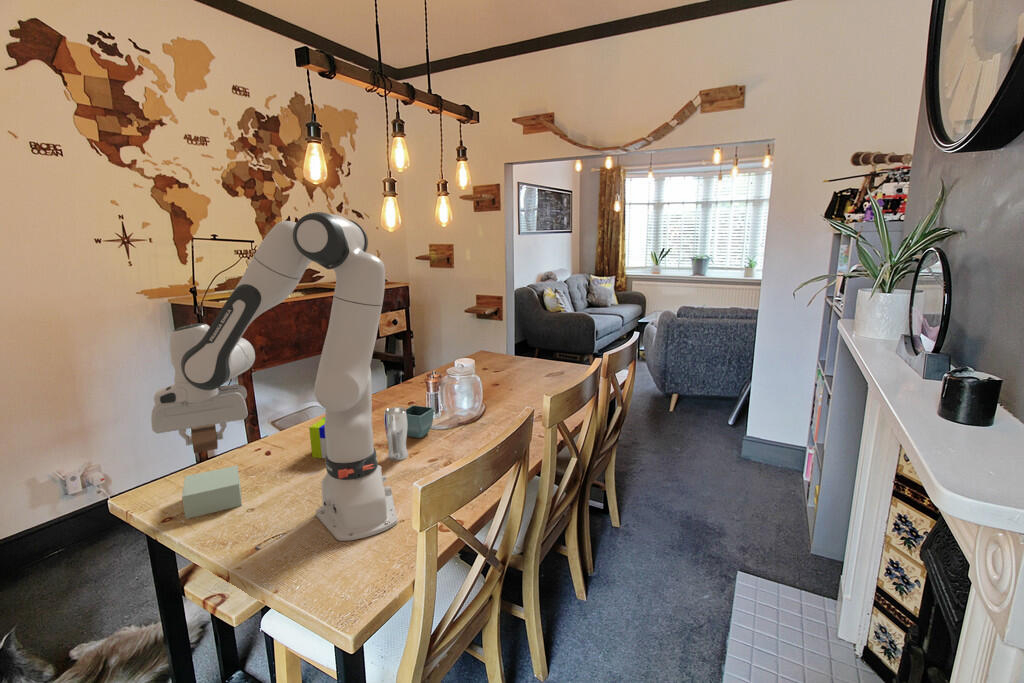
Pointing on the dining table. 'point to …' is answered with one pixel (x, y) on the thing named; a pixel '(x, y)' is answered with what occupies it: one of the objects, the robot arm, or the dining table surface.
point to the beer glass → (396, 432)
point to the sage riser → (211, 491)
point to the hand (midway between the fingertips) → (205, 441)
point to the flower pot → (419, 420)
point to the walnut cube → (204, 438)
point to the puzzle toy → (318, 439)
